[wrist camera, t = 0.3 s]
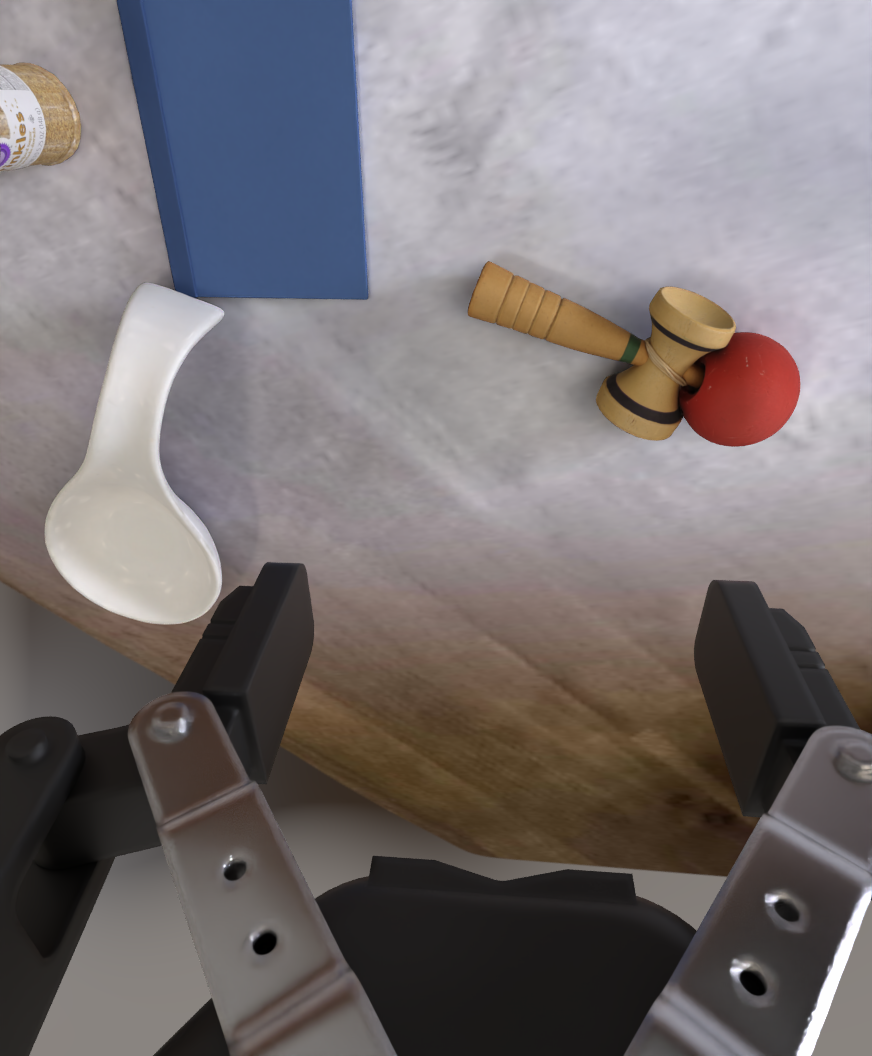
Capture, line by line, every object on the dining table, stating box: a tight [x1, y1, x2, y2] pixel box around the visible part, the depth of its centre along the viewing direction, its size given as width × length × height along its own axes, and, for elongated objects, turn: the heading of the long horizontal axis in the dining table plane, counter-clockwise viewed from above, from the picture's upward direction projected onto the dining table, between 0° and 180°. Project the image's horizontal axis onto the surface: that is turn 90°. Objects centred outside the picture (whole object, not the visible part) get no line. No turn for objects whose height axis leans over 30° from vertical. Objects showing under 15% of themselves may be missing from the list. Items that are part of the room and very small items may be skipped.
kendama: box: [468, 261, 800, 447], centre depth 37 cm, size 8×6×18 cm
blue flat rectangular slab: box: [117, 0, 368, 299], centre depth 33 cm, size 24×11×1 cm, turn 0°
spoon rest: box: [45, 282, 224, 624], centre depth 43 cm, size 24×12×7 cm, turn 162°
